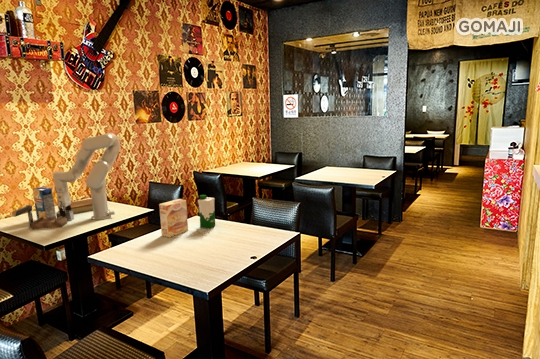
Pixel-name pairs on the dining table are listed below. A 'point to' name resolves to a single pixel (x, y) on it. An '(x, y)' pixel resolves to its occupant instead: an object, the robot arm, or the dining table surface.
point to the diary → (81, 206)
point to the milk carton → (206, 212)
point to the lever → (22, 210)
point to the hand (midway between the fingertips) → (66, 214)
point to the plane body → (49, 223)
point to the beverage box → (44, 202)
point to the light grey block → (68, 215)
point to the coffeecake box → (173, 217)
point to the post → (30, 218)
